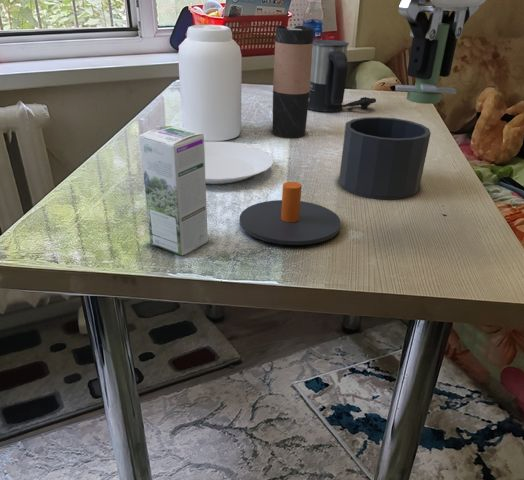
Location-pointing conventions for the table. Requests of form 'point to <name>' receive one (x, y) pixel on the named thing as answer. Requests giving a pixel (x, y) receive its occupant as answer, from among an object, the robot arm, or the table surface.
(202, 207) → the syrup box
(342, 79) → the milk frother
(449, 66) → the robot arm
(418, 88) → the green peg on stand
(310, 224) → the lid
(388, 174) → the bowl
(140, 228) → the table surface
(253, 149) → the plate
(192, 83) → the white jar
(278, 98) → the travel mug
